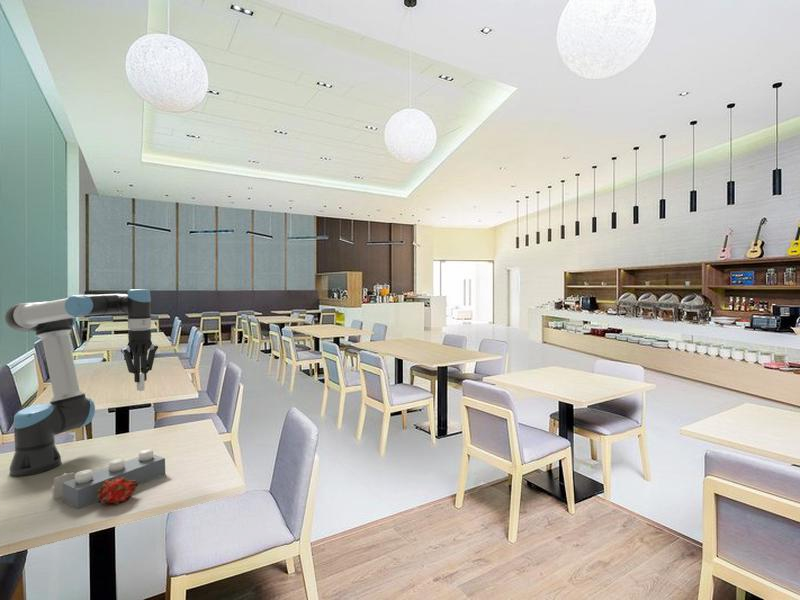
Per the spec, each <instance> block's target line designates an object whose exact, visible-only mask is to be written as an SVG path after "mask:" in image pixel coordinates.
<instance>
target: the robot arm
mask: <svg viewBox="0 0 800 600" xmlns="http://www.w3.org/2000/svg"><path fill="white" fill-rule="evenodd" d="M151 303H152V297H151V291H150V290H149V289H146V288H145V289H144V288H143V289H142V288H141V289H140V288H138V289H136V288H134V289H133V288H131V289H128V290H127V294H126V293H105V294H74V295H70V296H69V297H67V298H62V299H61V298H60V299H56V300H51V301H50V300H49V301H41V302H40V301H39V302H36V301H35V302H34V301H33V302H22V303H17V304H14V305H12V306H11V307H9V308H8V309H7V310H6V312H5V315H4V319H5V320H4V321H5V322H6V324H7V325H8V327H10V328H11V329H13V330H15V331H18V332H25V333H26V332H29V333H30V332H35V334H36V337H37V338H39V339H41V340H42V345H43V349H44V355H45V360H46V365H47V369H48V375H49V379H50V380H49V381H50V385H51V389H52V393H53V397H52V398H51V399H50V401H49V403H39V404H34V405H30V406H27V407H24V408H23V409H20V410H18V411H17V412H16V413H15V414H14V416H13V424H12V425H13V432H14V433H13V435H14V453H13V457H12V460H11V463H10V466H9V475H10V476H15V477H23V476H24V477H25V476H31V475H36V474H40V473H43V472H47V471H51V470H52V469H55V468H57V467H58V466H60V465H61V463H62V457H61V454H60V452H59V450H58V447H57V446H56V444H55V436H56V435H59V434H62V433H66V432H69V431H72V430H76V429H79V428H82V427H83V426H86V425H89V423H91V422H92V420H93V419H94V418H95V413H96V406H95V402H94V401H93V400H92V398H90V397H89V396H88V397H87V396H86V393H85V392H83V391H82V390H80V387H79V381H78V377H77V376H78V375H77V373H76V367H75V366H76V365H75V362H74V357H73V353H72V348H71V343H70V338H69V335H70V333H72V331H73V330H72V327H74V326H75V324H76V321H77V318H83V317H87V316H98V315H99V316H100V315H111V314H127V327H128V328H127V329H128V333H127V334H128V335H127V336H128V343H127V346H126V347H124V348H121V350H120V352H121V353H122V354H123V356H124V360H125V363H126V367H127V370H128V371H127V372H128V373H129V374H134V378H133V380H134V382H135V383H136V390H137V391H140V392H142V391H145V386H146V385H145V382H147V380H148V379H147V374H148V373H149V371H152V369H153V365H154V360H155V356H156V352H157V350H158V349H159V346H158V345H156V344H153V341H152V329H151V327H152V313H151V312H152V310H151V309H152V307H151V306H152V305H151ZM131 353H132V355H131Z"/></svg>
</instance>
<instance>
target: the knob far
mask: <svg viewBox="0 0 800 600" xmlns="http://www.w3.org/2000/svg"><path fill="white" fill-rule="evenodd" d="M153 454H154V449H151V448H149V449H148V448H147V449H143V450H140V451H139V452H138V457H139V460H140V461H142V462H146V461H149V460H151V459H152V458H153Z"/></svg>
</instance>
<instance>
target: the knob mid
mask: <svg viewBox="0 0 800 600" xmlns="http://www.w3.org/2000/svg"><path fill="white" fill-rule="evenodd" d="M125 461H126V460H125V459H124V458H118V459H117V458H116V459H113V460H111V461H109V462H108V467H109V471H112V473H116V472H119V471H121V470H122V469H124V468H125Z"/></svg>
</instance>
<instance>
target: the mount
mask: <svg viewBox="0 0 800 600" xmlns="http://www.w3.org/2000/svg"><path fill="white" fill-rule="evenodd" d="M164 475H166V458H165V457H163V456H160V455H157V454H154V453H153V458H152V459H151V460H149V461H146V462H142V461H140V460H139V456H137V457H134V458H131V459H128V460H125V468H124V469H122V470H121V471H119V472H116V473H112V471H109V466H108V467H105V468H102V469H99V470H95V471H93V479H92V480H90V482H88V483H85V484H82V485H79V483H75V479H72V480H70V481H67V482H64V483H63V496H62V501H63V502H65V503H67V504H68V505H70V506H72V507H73V508H76V509H82V508H84V507H86V506H88V505H91V504H94V503H96V502H99V500H101V499H100V498H97V496H96V495H97V490H98V489H99V488H100V487H101V485H103V484H106V482H105V481H111V480H113V479H115V478H117V479H120V478H121V477H124V478H125V480H135V481H136V482H137V483H138V486H139V485H142V484H144V483H147V482H150V481H151V480H155V479H157V478H159V477H162V476H164ZM137 483H136V484H137ZM101 501H102V500H101Z"/></svg>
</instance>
